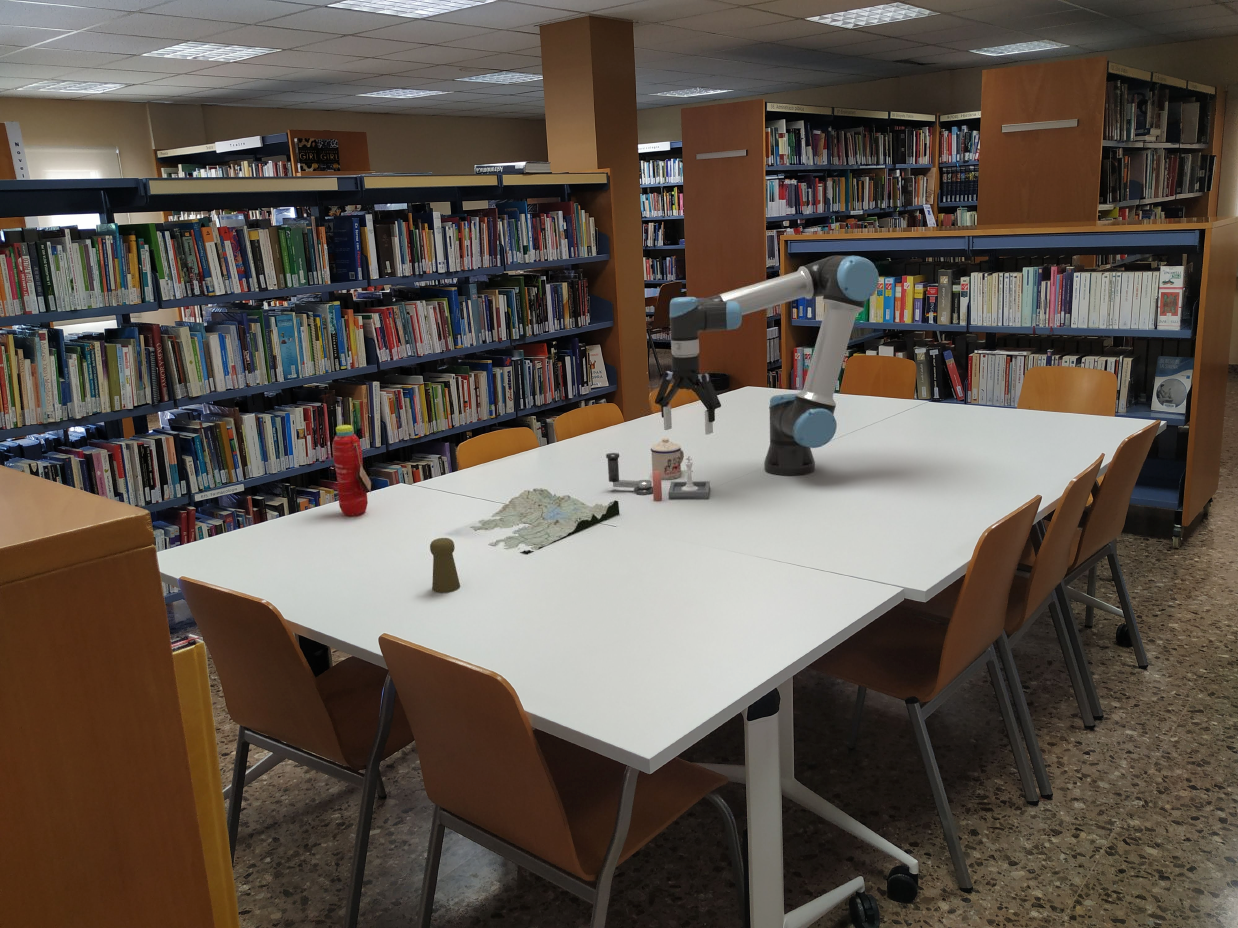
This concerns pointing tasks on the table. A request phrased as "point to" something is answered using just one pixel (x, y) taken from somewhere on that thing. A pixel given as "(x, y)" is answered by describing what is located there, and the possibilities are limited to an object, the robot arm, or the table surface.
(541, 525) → the topographic map model
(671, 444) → the teacup with lid
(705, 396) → the robot arm
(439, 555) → the cork
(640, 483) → the crank arm
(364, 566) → the table surface
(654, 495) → the post
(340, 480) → the water bottle
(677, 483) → the tray
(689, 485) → the chess piece
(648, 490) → the crank base
